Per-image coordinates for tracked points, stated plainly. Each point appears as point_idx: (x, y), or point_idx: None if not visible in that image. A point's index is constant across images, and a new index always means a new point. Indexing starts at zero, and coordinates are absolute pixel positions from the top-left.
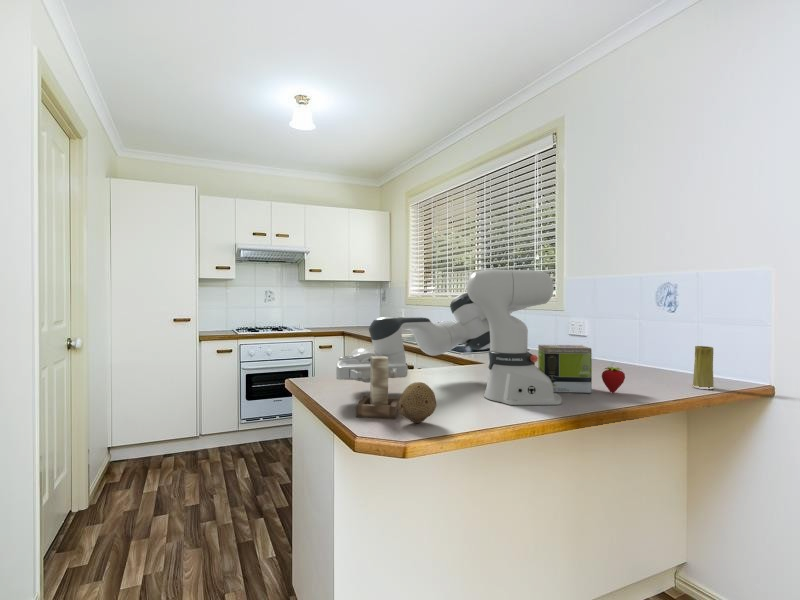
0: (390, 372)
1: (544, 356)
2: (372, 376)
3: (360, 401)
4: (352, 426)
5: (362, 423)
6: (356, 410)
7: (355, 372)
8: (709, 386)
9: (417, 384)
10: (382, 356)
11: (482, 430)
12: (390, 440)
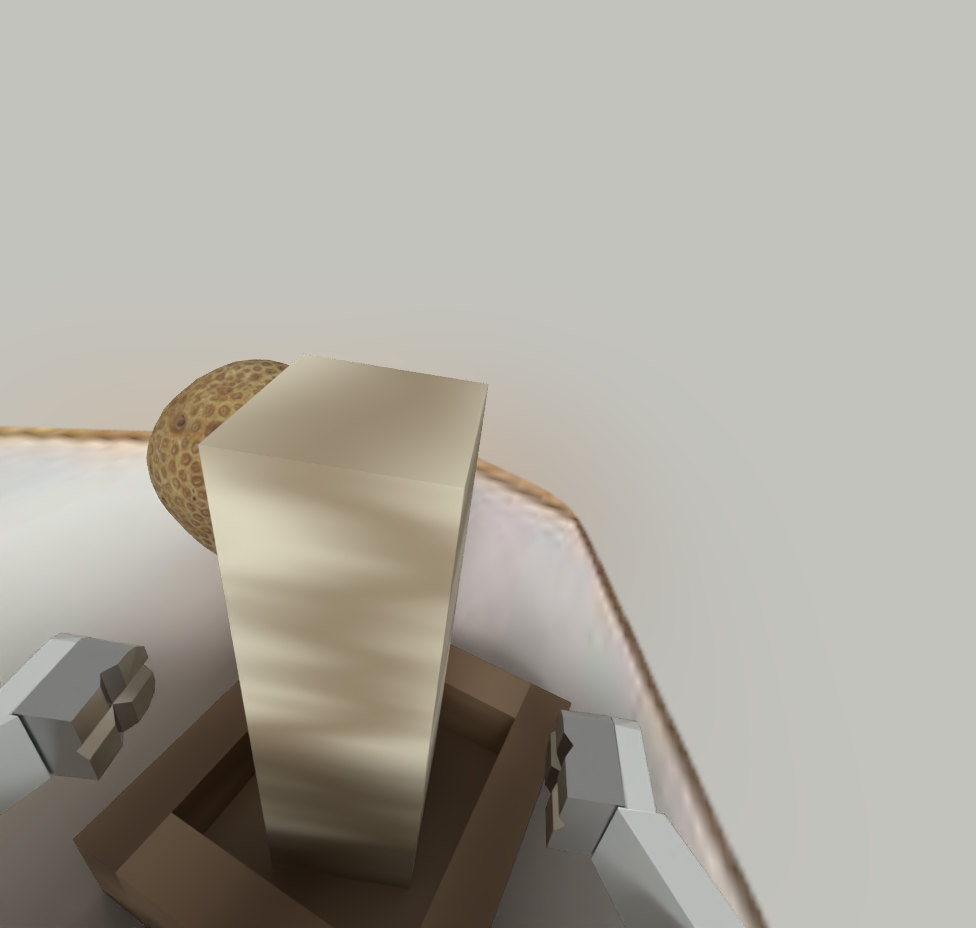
0: (123, 672)
1: None
2: (459, 573)
3: (521, 811)
4: (587, 609)
5: (534, 631)
6: None
7: (648, 783)
8: None
9: (282, 364)
10: (279, 433)
11: (126, 434)
12: (477, 467)
